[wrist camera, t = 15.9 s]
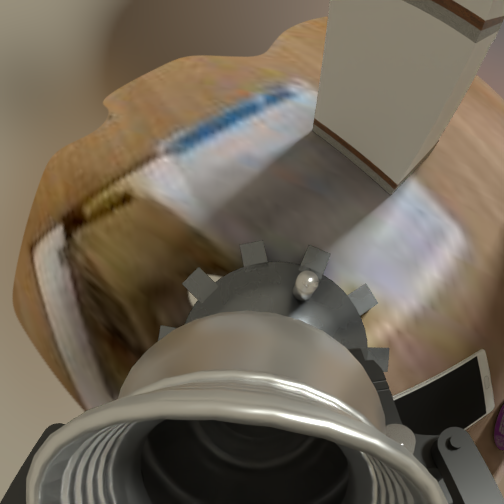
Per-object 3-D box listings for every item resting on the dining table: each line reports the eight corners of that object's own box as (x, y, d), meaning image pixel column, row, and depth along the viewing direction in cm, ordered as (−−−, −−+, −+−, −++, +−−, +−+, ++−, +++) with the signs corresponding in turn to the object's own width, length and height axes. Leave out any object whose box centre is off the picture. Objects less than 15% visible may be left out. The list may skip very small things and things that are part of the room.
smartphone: (495, 409, 19) (375, 479, 18) (492, 408, 19) (373, 476, 19) (485, 346, 22) (360, 409, 21) (481, 347, 22) (358, 408, 22)
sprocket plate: (224, 217, 28) (217, 192, 24) (406, 293, 24) (429, 280, 20) (132, 398, 22) (108, 403, 18) (324, 484, 19) (334, 505, 15)
